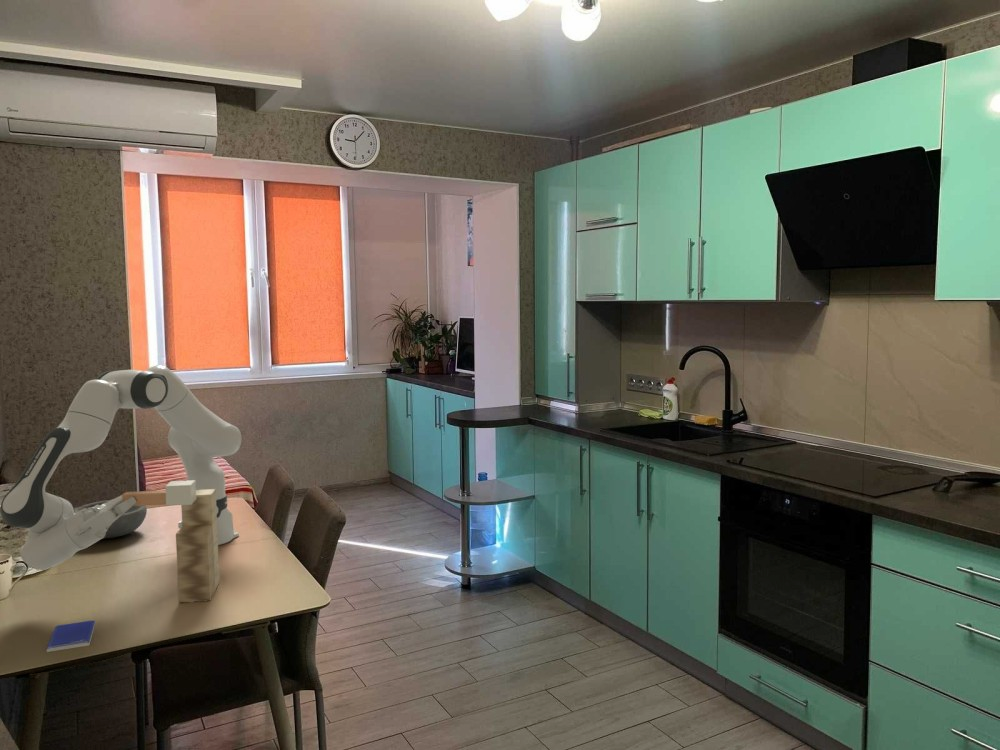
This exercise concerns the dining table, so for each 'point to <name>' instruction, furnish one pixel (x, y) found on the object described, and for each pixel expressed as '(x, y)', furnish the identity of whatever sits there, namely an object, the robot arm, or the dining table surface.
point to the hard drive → (71, 636)
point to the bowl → (122, 520)
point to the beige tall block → (198, 549)
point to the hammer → (166, 494)
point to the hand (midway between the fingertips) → (138, 496)
